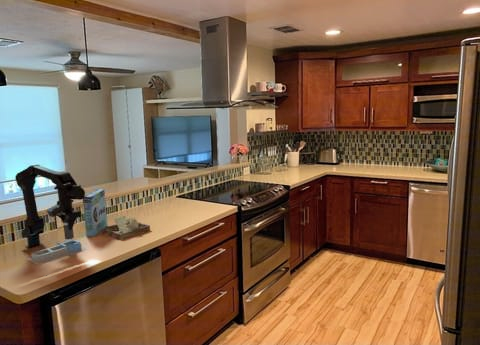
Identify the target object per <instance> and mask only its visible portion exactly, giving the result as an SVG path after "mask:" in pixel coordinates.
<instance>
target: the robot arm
mask: <svg viewBox="0 0 480 345" xmlns="http://www.w3.org/2000/svg"><path fill="white" fill-rule="evenodd" d="M37 177H42V178H45V179H48V180H49V181H50V182H52V184H54V185H55V186H54V188H53V190H57V197H58V200H57V201H56V204H55V205H53V206H51V207H49V208H47V209H46V213H47V214H48V216H49V217H51V218H54V217H58V218H60V220H61V223H63V221H64V220H67V224H68V228H69V230H72V228H73V229H74V225H75V224H76V220H77V218H82V216H83V215H82V214H83V213H82V212H81V211H80V210H76V209H75V208H74V207H73V203H74V200H78V201H81V200H83V198H84V196H86V191H85V189H84V188H83V187H82V185H80V184H77V182H76V180H75V179H74V178H73V176H72V175H71V173H70V172H68V171H56V170H54V169H50V168H48V167H45V166H42V165H41V164H31V165H29V166H28V167H26V168H24V169H23V170H21V171H19V172H17V173H16V175H15V183H16V185H17V186H18V187H19V188H20V189H21V191H22V197H23V202H24V207H25V213H26V219H25V221H24V229H23V230H22V232H21V234H20V235H21V237H22V238H24V239H26V240H27V241H26V242H27V245H25V248H27V249H34V248H36V247H40V246H43V245H44V244H43V243H41V238H40V234H43V233H44V229H45V222H44V220H45V218H44V217H40V216H39V213H38V206H37V202H36V195H35V191H34V186H35V185H36V178H37Z"/></svg>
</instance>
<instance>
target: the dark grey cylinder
mask: <svg viewBox="0 0 480 345" xmlns="http://www.w3.org/2000/svg"><path fill="white" fill-rule="evenodd" d="M62 225H63V226H62V227H63V233H64V239H65V240H73V239H74V238H75V235H74V227H73V228H72V230H69V228H68V224H67V220H64V221H63V222H62Z"/></svg>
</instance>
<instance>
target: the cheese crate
mask: <svg viewBox="0 0 480 345" xmlns="http://www.w3.org/2000/svg"><path fill="white" fill-rule="evenodd" d="M137 222H138V224H139V227H138V229H135V230H132V231H128V232H125V233H122V232H117V231H118V230H119V228H118V226H117V224H116V223H115V224H113V225H109V226H106V227H105V228H102V230H101V232H102V234H104V235H107V236H109V237H111V238H114V239H118V240H121V241H122V240H124V239H128V238H131V237H135V236H137V235H141V234H144V233H146V232H149V231H151V227H150V226H151V225H149V224H145V223H142V222H139V221H137ZM116 230H117V231H116Z"/></svg>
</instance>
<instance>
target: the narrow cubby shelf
mask: <svg viewBox="0 0 480 345" xmlns="http://www.w3.org/2000/svg"><path fill="white" fill-rule="evenodd" d="M59 244H60V245H58V244H56V245H55V246H51V247H47V248H45V249H41V250H37V251H34V252H31V257H28V258H27V260H28V261H30V262H31V263H33V264H35V265H37V266H39V265H42V264H46V263H49V262H52V261H54V260H58V259H61V258H65V257H68V256H70V255H74V254H77V253H80V252H83V251H86V250H88V249H87V248H85V247H83V246H82V243H81V241H79V240H77V239H70V240H68V241H65V242H62V243H59Z"/></svg>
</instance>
